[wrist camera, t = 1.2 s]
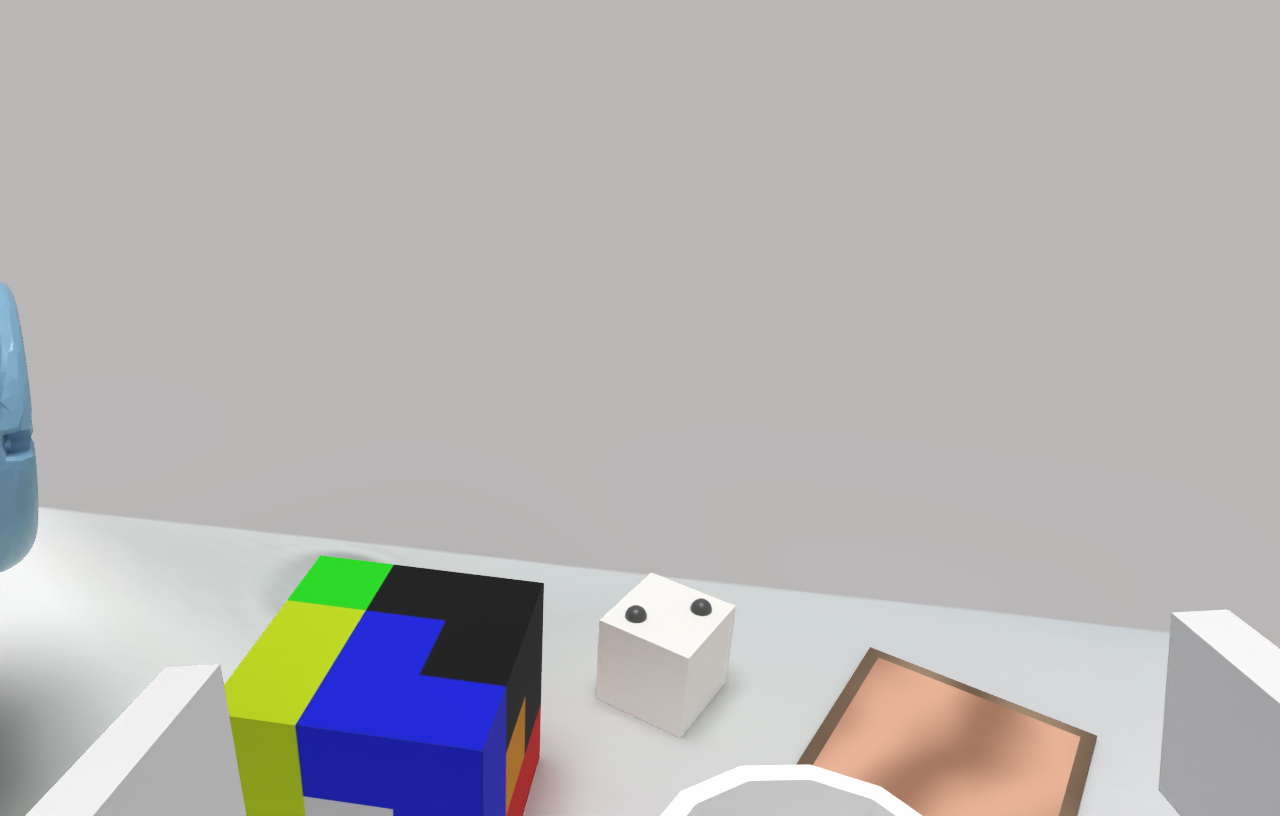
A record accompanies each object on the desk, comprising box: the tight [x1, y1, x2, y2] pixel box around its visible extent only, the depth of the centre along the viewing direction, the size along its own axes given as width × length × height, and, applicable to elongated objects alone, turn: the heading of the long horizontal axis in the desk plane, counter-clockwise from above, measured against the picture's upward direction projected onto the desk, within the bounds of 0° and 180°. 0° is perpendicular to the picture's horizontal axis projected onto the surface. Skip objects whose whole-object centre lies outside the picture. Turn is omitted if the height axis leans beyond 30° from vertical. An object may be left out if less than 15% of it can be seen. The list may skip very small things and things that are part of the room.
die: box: [596, 573, 735, 738], centre depth 51 cm, size 5×5×6 cm
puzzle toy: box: [224, 556, 544, 816], centre depth 41 cm, size 10×10×10 cm
